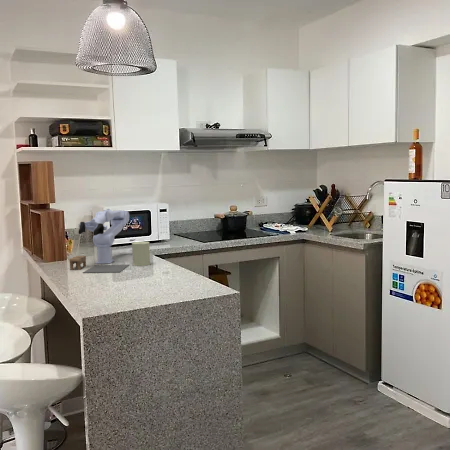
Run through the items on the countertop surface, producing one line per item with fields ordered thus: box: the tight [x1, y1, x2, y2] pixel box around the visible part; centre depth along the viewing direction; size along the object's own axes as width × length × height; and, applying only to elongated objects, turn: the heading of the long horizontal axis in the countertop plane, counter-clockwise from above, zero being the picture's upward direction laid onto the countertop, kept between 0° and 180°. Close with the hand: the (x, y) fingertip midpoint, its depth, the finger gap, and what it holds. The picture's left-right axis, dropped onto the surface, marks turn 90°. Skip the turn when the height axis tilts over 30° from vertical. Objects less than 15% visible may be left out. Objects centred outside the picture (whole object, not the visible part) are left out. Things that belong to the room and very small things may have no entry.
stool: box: [69, 255, 87, 271], centre depth 261 cm, size 10×5×6 cm, turn 177°
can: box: [131, 241, 151, 267], centre depth 268 cm, size 9×9×12 cm
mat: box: [82, 264, 130, 274], centre depth 257 cm, size 20×18×1 cm
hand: (86, 232), depth 255 cm, fingers open, 7 cm apart
